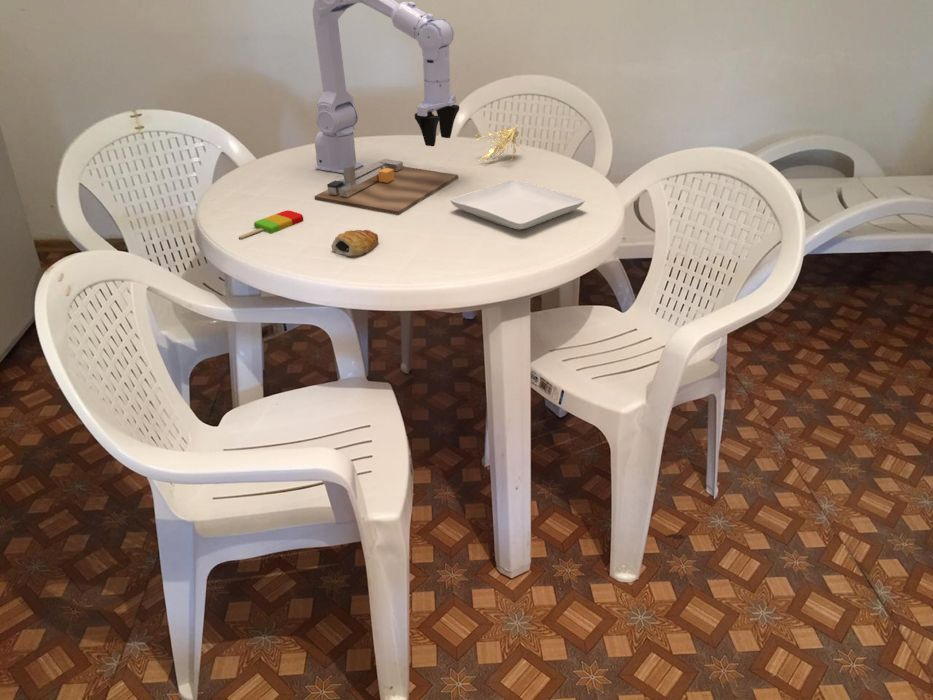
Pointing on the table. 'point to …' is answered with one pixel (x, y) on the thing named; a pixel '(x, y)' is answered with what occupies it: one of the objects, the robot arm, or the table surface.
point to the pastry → (355, 242)
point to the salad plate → (517, 203)
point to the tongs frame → (392, 164)
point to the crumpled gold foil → (502, 141)
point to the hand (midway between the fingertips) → (438, 141)
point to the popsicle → (276, 222)
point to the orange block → (386, 175)
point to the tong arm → (359, 184)
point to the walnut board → (394, 191)
